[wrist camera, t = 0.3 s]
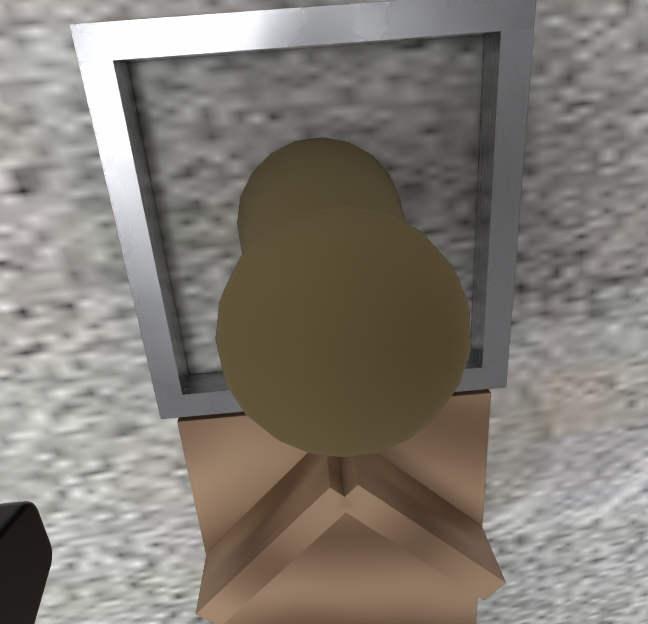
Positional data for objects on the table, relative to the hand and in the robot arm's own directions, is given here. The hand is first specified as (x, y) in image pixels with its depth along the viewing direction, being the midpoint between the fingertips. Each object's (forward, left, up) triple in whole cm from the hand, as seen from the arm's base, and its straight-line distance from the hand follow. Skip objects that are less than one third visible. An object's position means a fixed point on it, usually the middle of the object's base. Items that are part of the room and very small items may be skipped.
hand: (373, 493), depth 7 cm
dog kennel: (-15, 0, -14) cm, 20 cm away
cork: (0, 0, -14) cm, 14 cm away
